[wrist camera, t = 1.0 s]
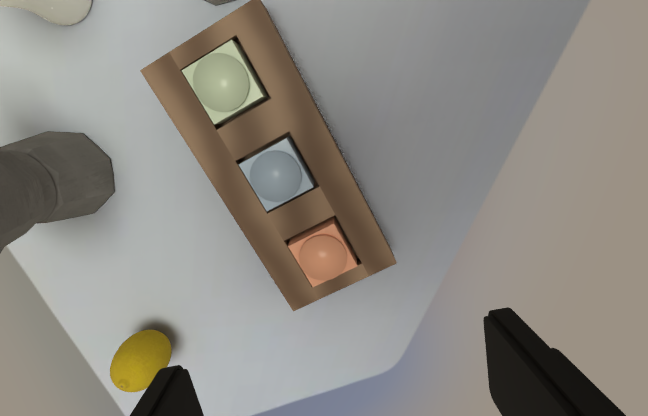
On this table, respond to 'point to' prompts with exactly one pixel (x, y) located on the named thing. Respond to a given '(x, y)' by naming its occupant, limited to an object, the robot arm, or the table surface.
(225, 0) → the flask
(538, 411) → the robot arm
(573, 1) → the table surface
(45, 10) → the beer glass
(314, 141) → the button panel
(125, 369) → the lemon
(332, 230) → the terracotta button
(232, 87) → the sage green button
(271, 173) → the slate blue button
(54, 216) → the coffeepot
